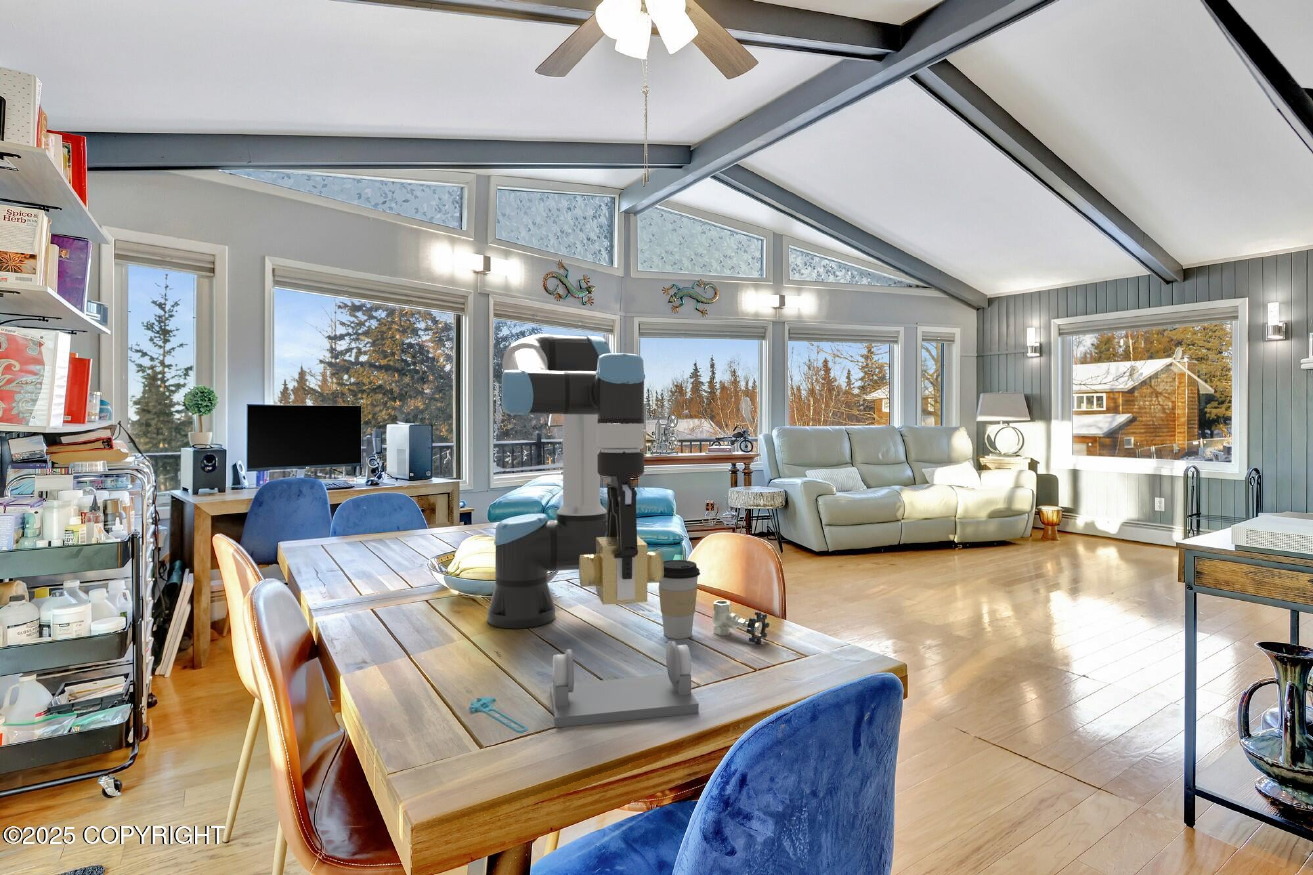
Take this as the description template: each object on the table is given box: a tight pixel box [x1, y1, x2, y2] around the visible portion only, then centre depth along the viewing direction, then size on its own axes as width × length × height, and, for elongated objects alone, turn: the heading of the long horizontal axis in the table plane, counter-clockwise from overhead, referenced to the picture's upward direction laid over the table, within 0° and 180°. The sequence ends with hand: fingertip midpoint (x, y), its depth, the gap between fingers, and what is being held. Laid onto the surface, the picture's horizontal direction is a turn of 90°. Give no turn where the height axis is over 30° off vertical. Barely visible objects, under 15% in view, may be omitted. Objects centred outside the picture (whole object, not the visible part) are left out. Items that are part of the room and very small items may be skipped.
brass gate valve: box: [578, 535, 664, 606], centre depth 104 cm, size 8×13×9 cm, turn 103°
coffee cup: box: [657, 559, 701, 640], centre depth 136 cm, size 9×9×15 cm
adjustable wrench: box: [468, 696, 528, 733], centre depth 99 cm, size 14×1×5 cm
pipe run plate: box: [550, 640, 700, 729], centre depth 103 cm, size 12×22×9 cm, turn 103°
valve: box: [711, 599, 770, 645], centre depth 135 cm, size 7×7×12 cm
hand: (621, 591), depth 104 cm, fingers closed on brass gate valve, 8 cm apart
